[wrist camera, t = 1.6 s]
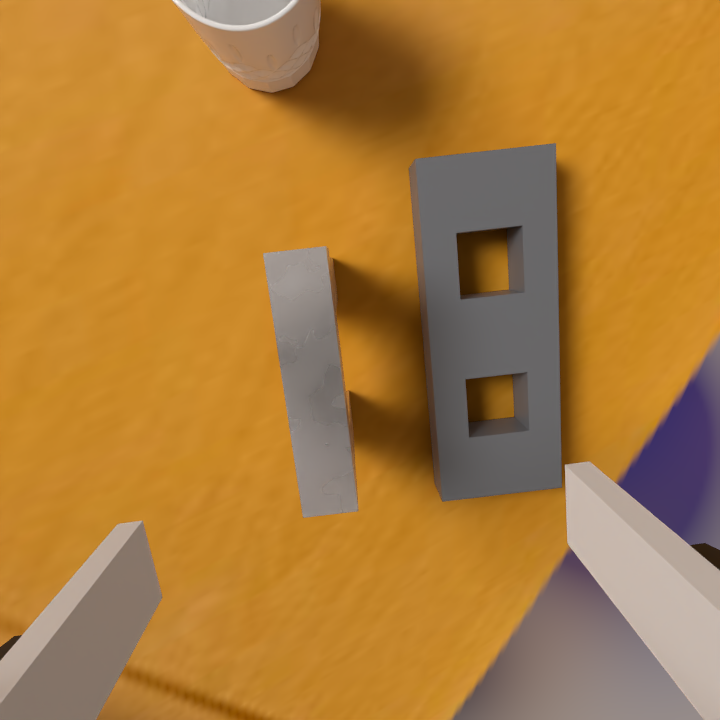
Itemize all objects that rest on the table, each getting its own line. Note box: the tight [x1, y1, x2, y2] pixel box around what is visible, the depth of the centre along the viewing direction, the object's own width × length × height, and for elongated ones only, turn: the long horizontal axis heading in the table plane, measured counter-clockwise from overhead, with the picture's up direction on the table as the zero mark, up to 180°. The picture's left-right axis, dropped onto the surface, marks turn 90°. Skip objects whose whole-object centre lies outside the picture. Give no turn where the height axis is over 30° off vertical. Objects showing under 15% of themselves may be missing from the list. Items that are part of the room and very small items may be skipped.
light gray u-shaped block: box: [263, 246, 358, 518], centre depth 29 cm, size 3×14×12 cm, turn 6°
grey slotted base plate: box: [409, 143, 562, 502], centre depth 33 cm, size 9×24×3 cm, turn 6°
